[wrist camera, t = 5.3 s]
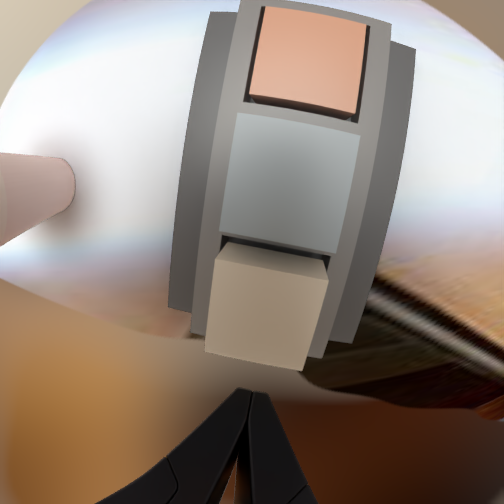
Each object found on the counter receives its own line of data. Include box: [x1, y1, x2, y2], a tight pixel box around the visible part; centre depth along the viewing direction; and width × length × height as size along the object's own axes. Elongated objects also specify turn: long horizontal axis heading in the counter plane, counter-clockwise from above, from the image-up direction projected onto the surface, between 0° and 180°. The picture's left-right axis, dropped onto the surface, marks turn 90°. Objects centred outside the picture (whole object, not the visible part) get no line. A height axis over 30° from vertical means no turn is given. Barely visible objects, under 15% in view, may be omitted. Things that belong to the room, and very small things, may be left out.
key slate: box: [219, 112, 360, 254], centre depth 12 cm, size 4×4×2 cm
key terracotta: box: [249, 6, 366, 120], centre depth 12 cm, size 4×4×2 cm
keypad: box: [168, 0, 416, 358], centre depth 15 cm, size 11×17×3 cm, turn 170°
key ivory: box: [204, 242, 329, 371], centre depth 14 cm, size 4×4×2 cm
